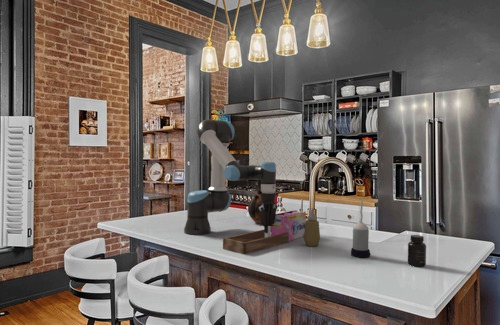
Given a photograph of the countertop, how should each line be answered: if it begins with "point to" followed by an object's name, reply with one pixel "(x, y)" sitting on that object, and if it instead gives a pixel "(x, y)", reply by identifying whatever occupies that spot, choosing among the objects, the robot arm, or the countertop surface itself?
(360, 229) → the grey long nozzle bottle
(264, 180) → the robot arm
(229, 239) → the u-shaped wooden frame
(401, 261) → the countertop surface
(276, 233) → the gum box
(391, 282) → the countertop surface
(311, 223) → the squeeze bottle
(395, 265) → the countertop surface
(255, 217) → the ceramic vessel
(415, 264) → the supplement bottle
